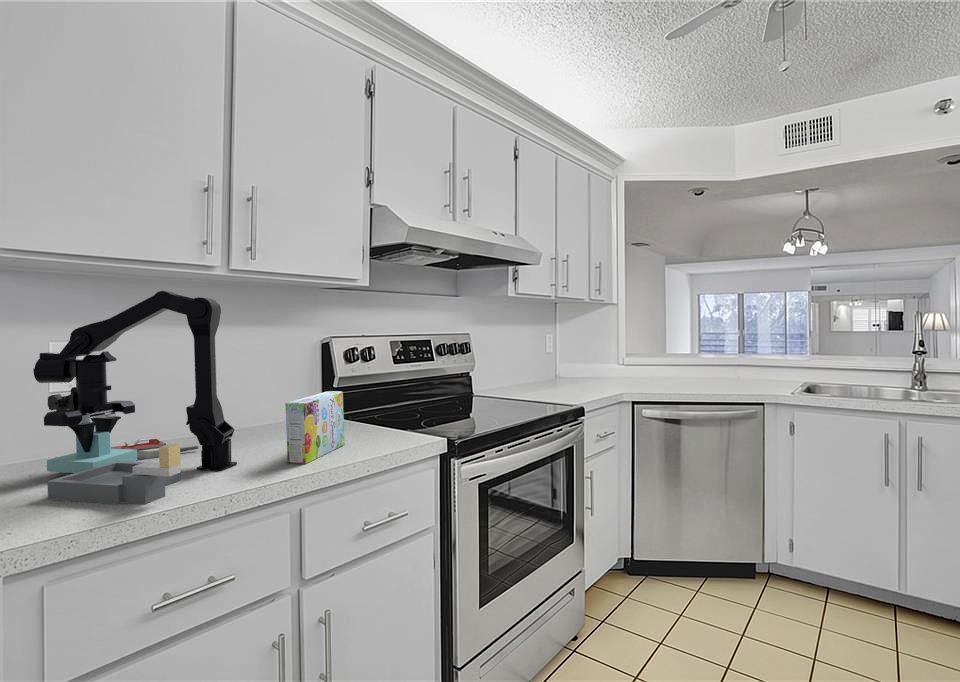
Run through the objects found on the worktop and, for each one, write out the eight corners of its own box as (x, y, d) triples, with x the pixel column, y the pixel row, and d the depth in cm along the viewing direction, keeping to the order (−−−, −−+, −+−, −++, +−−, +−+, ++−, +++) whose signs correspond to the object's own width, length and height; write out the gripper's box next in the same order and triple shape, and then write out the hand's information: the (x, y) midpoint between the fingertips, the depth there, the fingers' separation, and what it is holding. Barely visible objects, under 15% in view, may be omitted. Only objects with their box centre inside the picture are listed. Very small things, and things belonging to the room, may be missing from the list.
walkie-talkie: (108, 465, 135) (199, 453, 147) (108, 447, 135) (199, 436, 147) (105, 458, 142) (192, 447, 154) (105, 441, 142) (192, 431, 154)
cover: (94, 458, 135) (93, 427, 134) (137, 460, 132) (136, 428, 132) (47, 471, 123) (45, 437, 123) (93, 474, 121) (92, 439, 120)
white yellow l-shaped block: (144, 470, 110) (144, 442, 110) (180, 472, 108) (179, 444, 108) (132, 474, 107) (131, 445, 107) (169, 476, 105) (168, 447, 105)
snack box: (326, 444, 156) (326, 390, 155) (345, 445, 155) (344, 391, 154) (285, 463, 135) (284, 401, 135) (306, 464, 134) (305, 402, 133)
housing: (116, 476, 124) (116, 454, 124) (200, 481, 120) (199, 458, 120) (48, 499, 109) (47, 473, 108) (141, 505, 104) (140, 479, 104)
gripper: (97, 377, 138) (99, 440, 138) (21, 386, 119) (23, 458, 120) (135, 378, 136) (137, 442, 136) (64, 387, 117) (67, 461, 118)
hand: (93, 450), depth 128 cm, fingers closed on cover, 3 cm apart
